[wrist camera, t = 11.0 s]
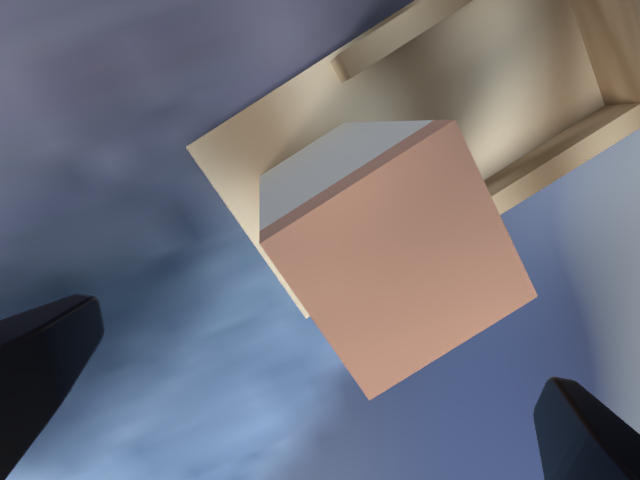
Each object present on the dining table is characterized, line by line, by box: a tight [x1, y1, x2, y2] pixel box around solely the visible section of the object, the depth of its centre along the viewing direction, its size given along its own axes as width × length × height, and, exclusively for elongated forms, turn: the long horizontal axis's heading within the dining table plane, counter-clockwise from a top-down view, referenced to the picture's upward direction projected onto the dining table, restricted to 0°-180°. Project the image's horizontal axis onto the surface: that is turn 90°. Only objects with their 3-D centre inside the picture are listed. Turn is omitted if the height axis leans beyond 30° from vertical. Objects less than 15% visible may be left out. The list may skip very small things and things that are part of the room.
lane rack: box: [186, 0, 640, 319], centre depth 18 cm, size 19×10×4 cm, turn 121°
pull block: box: [259, 119, 538, 400], centre depth 14 cm, size 4×4×11 cm
